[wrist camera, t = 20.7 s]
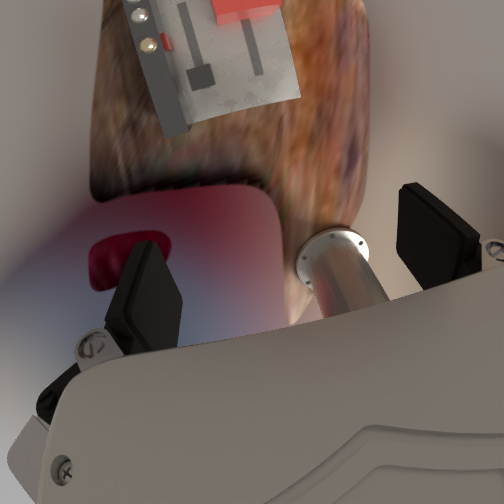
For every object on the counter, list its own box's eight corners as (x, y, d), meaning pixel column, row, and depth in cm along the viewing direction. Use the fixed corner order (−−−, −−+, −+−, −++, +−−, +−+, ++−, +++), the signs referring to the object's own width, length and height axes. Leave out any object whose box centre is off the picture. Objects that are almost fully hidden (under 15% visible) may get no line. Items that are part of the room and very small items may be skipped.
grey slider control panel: (294, 94, 33) (314, 103, 26) (175, 124, 33) (164, 141, 27) (261, -33, 22) (273, -57, 15) (137, -1, 23) (115, -16, 16)
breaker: (216, 83, 28) (215, 84, 26) (194, 89, 28) (192, 91, 26) (210, 63, 27) (209, 63, 24) (188, 69, 27) (185, 70, 25)
